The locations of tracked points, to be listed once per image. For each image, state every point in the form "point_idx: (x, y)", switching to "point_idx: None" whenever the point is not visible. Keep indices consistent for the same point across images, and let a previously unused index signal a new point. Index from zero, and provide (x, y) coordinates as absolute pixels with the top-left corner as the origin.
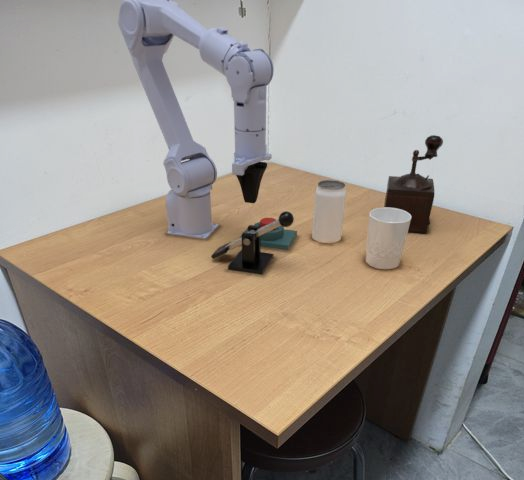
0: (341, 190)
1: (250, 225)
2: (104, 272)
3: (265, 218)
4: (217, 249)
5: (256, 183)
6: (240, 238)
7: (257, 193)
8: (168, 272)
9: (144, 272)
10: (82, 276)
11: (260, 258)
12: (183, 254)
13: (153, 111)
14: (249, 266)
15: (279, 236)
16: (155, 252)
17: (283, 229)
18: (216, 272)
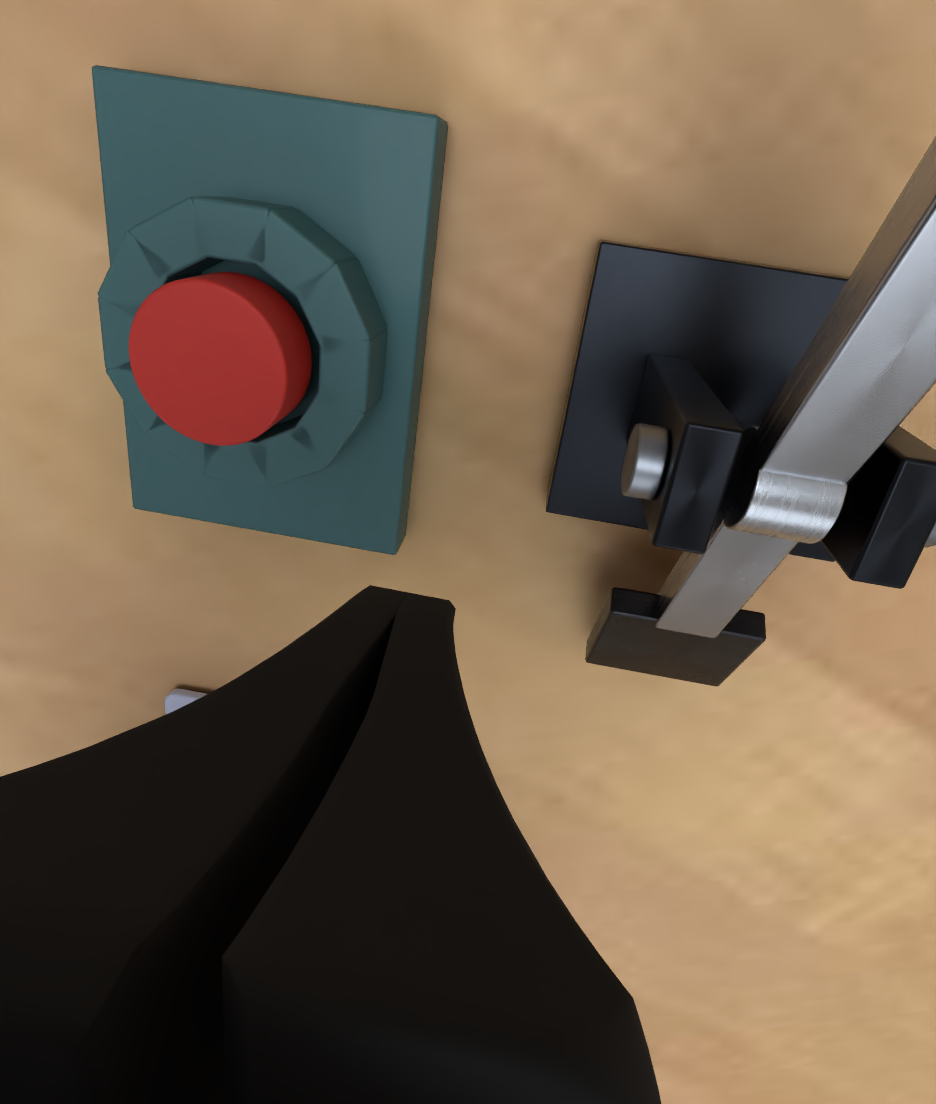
0: None
1: (661, 531)
2: (817, 1043)
3: (165, 403)
4: (629, 665)
5: (497, 798)
6: (730, 567)
7: (370, 634)
8: (829, 836)
9: (824, 923)
10: (853, 1095)
11: (701, 345)
12: (597, 801)
13: None
14: None
15: (313, 227)
16: (587, 912)
17: (216, 198)
18: (842, 611)
